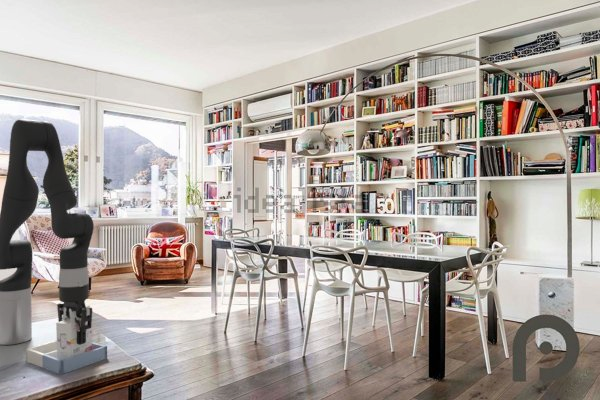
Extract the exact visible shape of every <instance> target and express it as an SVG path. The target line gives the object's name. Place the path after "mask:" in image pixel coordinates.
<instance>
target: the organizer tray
mask: <svg viewBox="0 0 600 400" xmlns="http://www.w3.org/2000/svg"><path fill="white" fill-rule="evenodd" d="M106 359H108V346H107V345H104V344H101V343H97V342H94V341H92V350H91V351H88V352H85V353H82V354H79V355H76V356H72V357H69V358H66V359H63V360H61V359H58V358H57V339H56V340H53V341H49V342H45V343H42V344H39V345H36V346H31V347H28V348H25V362H27V363H29V364H33V365H35V366H37V367H40V368H43V369H46V370H48V371H51V372H53V373H56V374H58V375H63V374H66V373H69V372H72V371H75V370H78V369H80V368H84V367H86V366H89V365H93V364H95V363H98V362H101V361H103V360H106Z"/></svg>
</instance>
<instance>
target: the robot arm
mask: <svg viewBox="0 0 600 400" xmlns="http://www.w3.org/2000/svg"><path fill="white" fill-rule="evenodd" d="M29 152H44V153H45V154H46V155H45V156H47V159H48V163H47V167H46V169H45V172H44V175H43V179H42V187H43V192H44V193H45V197H46V199H47V201H48V204H49V207H50V216H51V218H50V219H51V220H50V221H51V230H52V232H53V234H54V235H55V236H56V237H57V238H59V239H62V240H64V239H66V240H67V239H73V240H72V242H71V244H69V245H67V246H64V247H62V248H61V249H60V251H59V273H58V293H59V294H58V296H59V297H58V300H59V301H60V303H57V304H56V306H57V307H56V309H57V318H58V319H57V320H58V322H61V321H63V320H66V319H70V313H71V312H73V311H76V316H77V317H78V318H81V319H80V320H77V319H76V317H75V324H76V328H77V344H79V345H81V344H84V343H86V330H87V329H90V328H91V326H92V321H93V319H92V318H93V308H92V307H90V308H86V307H87V306H86V302H85V301H86V300H88V299H90V298H89V297H90V286H89V285H90V283H89V282H90V280H89V279H90V278H89V277H90V276H89V275H90V274H89V267H88V265H89V263H88V252H89V247H90V244H91V240H92V238H93V233H94V229H95V228H94V227H95V226H94V221H93V218H92V217H91V215H89V214H88V213H86V212H73V213H72V212H71V213H70V212H68V211H69V210H71V209H73V208H75V207H76V205H77V204H78V199H77V195H76V194H75V191H74V189H73V186H72V184H71V182H70V180H69V177H68V174H67V169H66V166H65V165H66V164H65V160H64V156H63V151H62V146H61V142H60V139H59V135H58V132H57V129H56V127H55V125H54V124H53V123H52V122H50V121H46V120H36V119H35V120H34V119H24V118H23V119H22V118H21V119H20V118H19V119H17V120H15V122H13V125H12V127H11V131H10V139H9V155H8V156H9V157H8V166H7V172H6V173H7V174H6V179H5V184H4V188H3V194H2V199H1V200H2V201H1V208H0V271H1V270H10V269H16V270H15V271H14V272H13V274H11V275H9V276H7V277H6V278H3V279H1V280H0V345H3V346H10V345H11V346H12V345H18V344H22V343H25V342H28V341H30V340H31V339H32V338H33V337H32V336H33V333H32V332H33V331H32V329H33V328H32V326H33V324H32V323H33V322H32V278H33V277H32V276H33V273H32V272H33V247H32V243H31V242H30V241H29V240H28V239H15V240H12V238H13V236H14V235H15V233H16V232H17V230H18V229H19V228H20V227H21V226H23V224H25V222H26V221H27V220H29V219H30V217H31V216H32V215H33V213H34V212H35V211H36V208H37V205H38V199H39V193H40V189H39V186H38V183H37V182H36V180H35V178H34V177H33V176H34V175H32V173H31V172H30V170H29V169H30V168H29V167H28V161H27V159H28V153H29ZM87 321H88V323H86V322H87ZM79 323H81V327H80V324H79Z"/></svg>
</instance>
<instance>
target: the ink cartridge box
mask: <svg viewBox="0 0 600 400" xmlns="http://www.w3.org/2000/svg"><path fill="white" fill-rule="evenodd" d="M86 308H91V306H90V305H87V306H86ZM75 317H76V319H77V320H80V319H81V318H78V317H77V316H76V311H73V312H71V313H70V319H66V320H63V321H61V322H59V321H58V322H56V326H55V328H56V330H55V331H56V340H57V358H58V359H61V360H63V359H66V358H69V357H72V356H76V355H79V354H82V353H85V352H88V351H91V350H92V342H93V337H92V336H93V334H92V325H91V328H90V329H87V330H86V343H84V344H81V345H79V344H77V328H76V324H75ZM86 323H88V321H87V322H86ZM79 324H80V327H81V323H79Z"/></svg>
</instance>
